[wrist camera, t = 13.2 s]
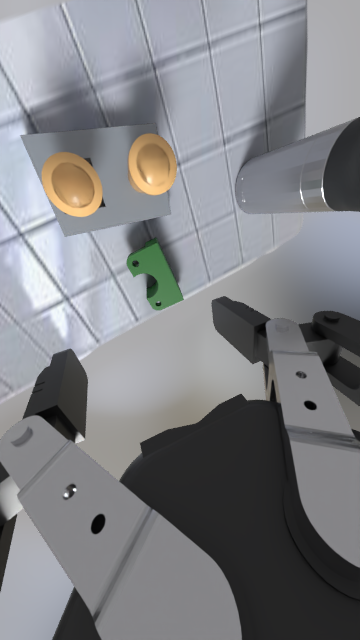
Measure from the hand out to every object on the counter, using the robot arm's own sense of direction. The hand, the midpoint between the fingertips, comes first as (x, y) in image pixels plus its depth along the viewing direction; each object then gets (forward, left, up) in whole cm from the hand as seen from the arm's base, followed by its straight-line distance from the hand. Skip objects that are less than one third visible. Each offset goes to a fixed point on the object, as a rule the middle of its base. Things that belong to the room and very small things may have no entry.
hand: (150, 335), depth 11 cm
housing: (-3, -10, -28) cm, 30 cm away
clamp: (-6, +5, -28) cm, 29 cm away
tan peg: (+2, -9, -28) cm, 29 cm away
